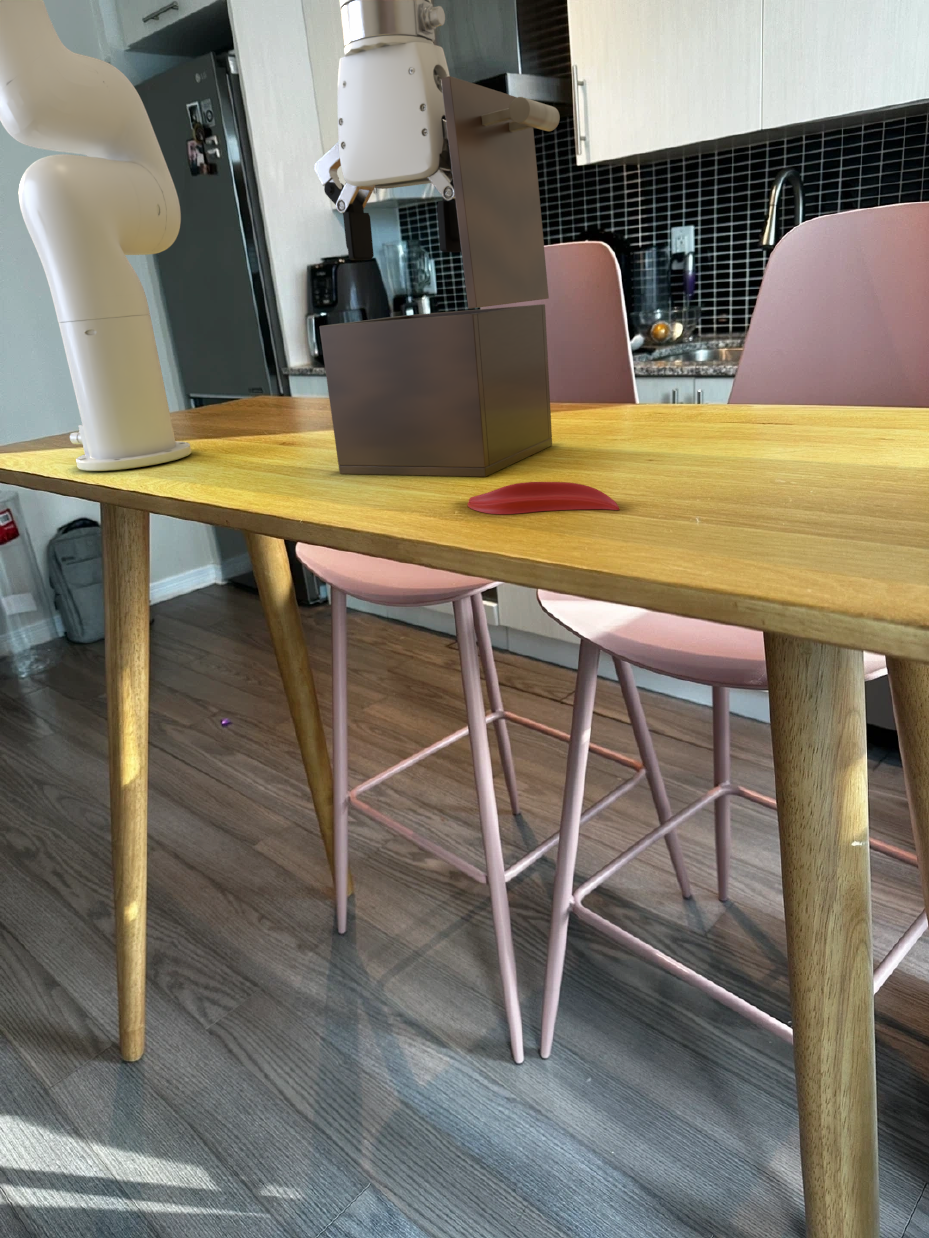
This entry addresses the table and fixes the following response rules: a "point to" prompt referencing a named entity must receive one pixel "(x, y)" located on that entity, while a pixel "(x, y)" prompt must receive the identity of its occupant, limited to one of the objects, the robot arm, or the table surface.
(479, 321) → the chest
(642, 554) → the table surface
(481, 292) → the lid
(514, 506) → the cayenne pepper
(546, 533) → the table surface
